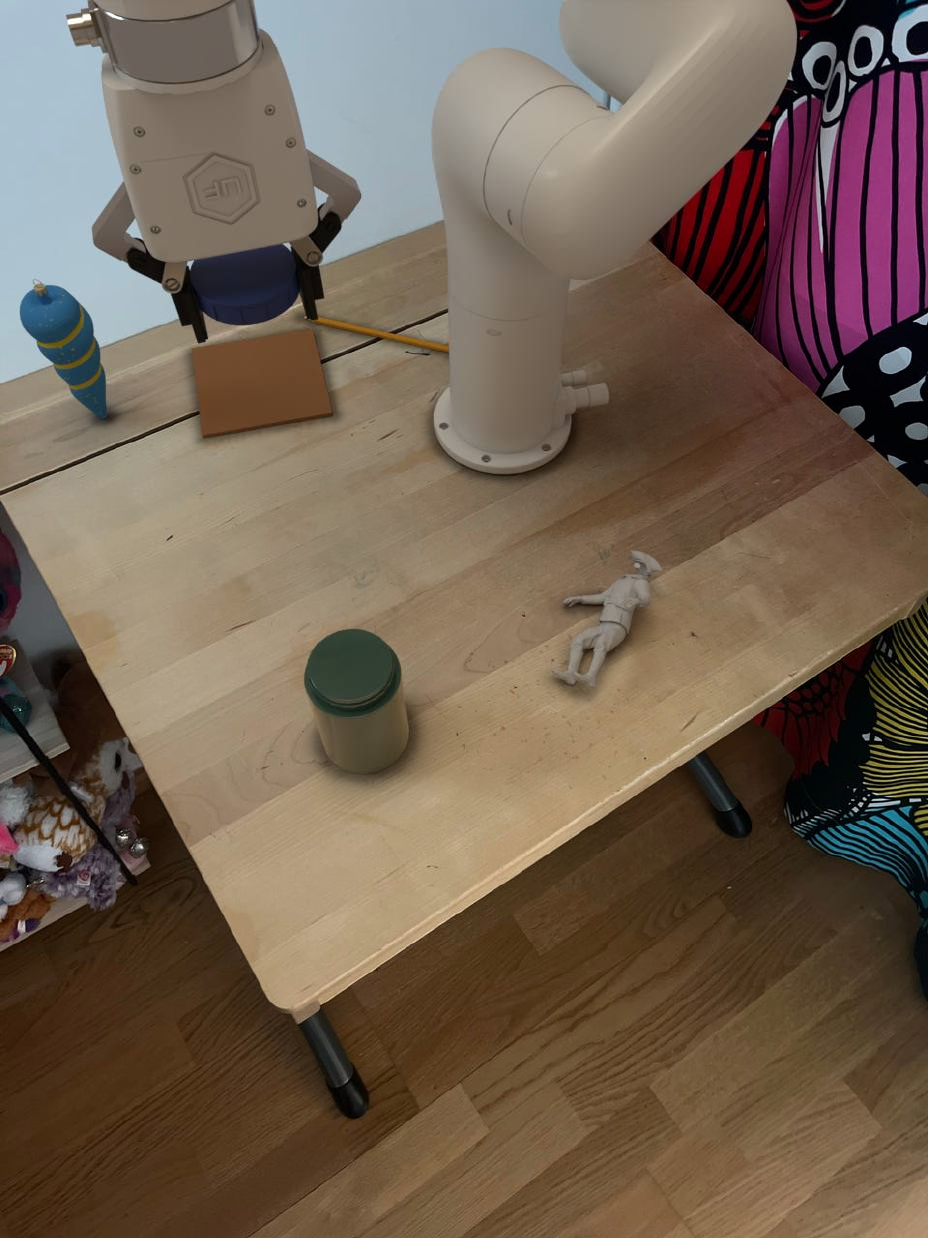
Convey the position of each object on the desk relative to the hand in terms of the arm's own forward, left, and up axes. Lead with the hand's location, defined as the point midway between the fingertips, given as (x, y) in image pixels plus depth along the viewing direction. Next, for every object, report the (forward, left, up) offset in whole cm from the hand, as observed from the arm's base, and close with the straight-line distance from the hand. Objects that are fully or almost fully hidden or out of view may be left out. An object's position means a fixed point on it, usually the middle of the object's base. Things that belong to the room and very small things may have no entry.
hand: (255, 316), depth 60 cm
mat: (+2, -18, -21) cm, 28 cm away
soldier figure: (-21, +17, -22) cm, 35 cm away
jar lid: (0, 0, +3) cm, 3 cm away
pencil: (-12, -21, -22) cm, 33 cm away
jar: (-1, +21, -21) cm, 30 cm away
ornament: (+17, -17, -22) cm, 32 cm away
